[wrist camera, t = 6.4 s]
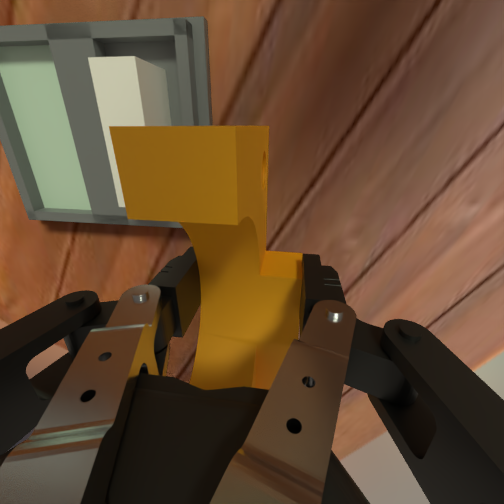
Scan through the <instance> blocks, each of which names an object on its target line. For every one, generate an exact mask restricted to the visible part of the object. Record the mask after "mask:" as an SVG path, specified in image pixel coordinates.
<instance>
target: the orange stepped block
mask: <svg viewBox="0 0 504 504" xmlns="http://www.w3.org/2000/svg"><path fill="white" fill-rule="evenodd" d="M109 130H110V135H111V140H112V145H113V149H114V154H115V159H116V164H117V169H118V174H119V179H120V183H121V188H122V193H123V198H124V203H125V208H126V212H127V217H128V219H134V220H152V221H171V222H179V223H180V224H181V226H182V227H183V228H184V230H185V231H186V233H187V234H188V236H189V238H190V240H191V243H192V245H193V248H194V251H195V254H196V258H197V263H198V268H199V275H200V286H201V315H200V328H199V336H198V344H197V350H196V356H195V361H194V366H193V370H192V375H191V379H190V383H189V384H191V385H193V386H196V387H198V388H201V389H203V390H214V389H223V388H233V387H243V386H244V387H252V388H260V389H267V390H270V387H271V385H272V383H273V381H274V379H275V377H276V375H277V373H278V370H279V368H280V366H281V364H282V362H283V360H284V358H285V356H286V353H287V351H288V349H289V347H290V345H291V343H292V341H293V340H294V339H297V340H298V334H299V311H300V299H301V287H302V253H293V252H278V251H266V228H267V190H268V151H269V126H109Z"/></svg>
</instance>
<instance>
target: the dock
mask: <svg viewBox="0 0 504 504" xmlns="http://www.w3.org/2000/svg"><path fill="white" fill-rule="evenodd" d="M109 126H213V125H212V106H211V86H210V66H209V47H208V27H207V20H206V19H205V18H204V17H184V18H162V19H141V20H119V21H97V22H75V23H53V24H32V25H10V26H0V140H1V143H2V146H3V148H4V151H5V154H6V157H7V159H8V162H9V165H10V168H11V171H12V173H13V176H14V179H15V182H16V184H17V187H18V190H19V193H20V195H21V198H22V201H23V204H24V207H25V209H26V212H27V215H28V218H29V220H47V221H65V222H84V223H102V224H120V225H138V226H156V227H174V228H183V227H182V226H181V224H180V223H179V222H171V221H152V220H134V219H128V217H127V212H126V208H125V203H124V198H123V193H122V188H121V183H120V179H119V174H118V169H117V164H116V159H115V154H114V149H113V145H112V140H111V135H110V130H109Z"/></svg>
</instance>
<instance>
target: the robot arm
mask: <svg viewBox="0 0 504 504" xmlns="http://www.w3.org/2000/svg"><path fill="white" fill-rule="evenodd" d="M200 304H201V286H200V275H199V268H198V263H197V258H196V254H195V251H194V248H193V247H190V248H189V249H188V250H187V251H186V252H185V253H184V255H183V256H178V257H176V258H174V259H172V260H170V261H169V262H168V264H167V265H166V266H165V267H164V268H163V269H162V270H161V272H159V273H158V274H157V275H156V276H155V278H154V279H153V280H152V281H151V282H150V283H149V284H148V285H140V286H136V287H133V288H130V289H128V290H127V291H125V292H124V293H123V294H122V295H121V297H120V299H119V300H118V301H109V302H99V298H98V295H97V293H95V292H93V291H78V292H74V293H70V294H68V295H65V296H63V297H61V298H59V299H57V300H56V301H54V302H52V303H50V304H48V305H46V306H44V307H42V308H40V309H38V310H37V311H35V312H33V313H31V314H29V315H27V316H25V317H23V318H21V319H19V320H17V321H16V322H14V323H12V324H10V325H8V326H6V327H4V328H2V329H0V504H370V503H369V502H368V500H367V499H366V497H365V496H364V494H363V493H362V492H361V490H360V489H359V487H358V486H357V485H356V483H355V482H354V481H353V479H352V478H351V476H350V475H349V474H348V473H347V471H346V470H345V468H344V467H343V465H342V464H341V462H340V461H339V460H338V458H337V457H336V456H335V454H334V453H333V451H332V450H331V448H332V443H333V438H334V433H335V427H336V422H337V417H338V412H339V407H340V402H341V396H342V391H343V386H344V384H346V385H348V386H350V387H353V388H355V389H358V390H360V391H363V392H365V393H367V394H368V397H369V399H370V401H371V403H372V405H373V406H374V408H375V410H376V411H377V413H378V415H379V417H380V418H381V420H382V422H383V423H384V425H385V427H386V429H387V430H388V432H389V434H390V435H391V437H392V439H393V441H394V442H395V444H396V446H397V447H398V449H399V451H400V452H401V454H402V456H403V458H404V459H405V461H406V463H407V464H408V466H409V468H410V469H411V471H412V473H413V475H414V476H415V478H416V480H417V482H418V483H419V485H420V487H421V488H422V490H423V492H424V494H425V495H426V497H427V499H428V500H429V502H430V504H504V400H503V399H501V397H500V396H499V395H497V394H496V393H495V392H494V391H493V390H492V389H491V388H490V387H489V386H488V385H487V384H486V383H485V382H484V381H483V380H481V379H480V378H479V377H478V376H477V375H476V374H475V373H474V372H473V371H472V370H471V369H470V368H469V367H468V366H466V365H465V364H464V363H463V362H462V361H461V360H460V359H459V358H458V357H457V356H456V355H455V354H454V353H453V352H451V351H450V350H449V349H448V348H447V347H446V346H445V345H444V344H443V343H442V342H441V341H440V340H439V339H438V338H436V337H435V336H434V335H433V334H432V333H431V332H430V331H429V330H428V329H426V328H425V327H423V326H421V325H419V324H417V323H415V322H412V321H408V320H403V319H394V320H390V321H388V322H386V323H385V325H384V328H380V327H377V326H373V325H370V324H367V323H365V322H362V321H360V320H359V319H357V318H356V313H355V311H354V310H353V309H352V308H351V307H350V306H348V305H347V304H346V301H345V297H344V294H343V290H342V287H341V283H340V281H339V276H338V273H337V272H336V271H335V270H334V269H333V268H332V267H331V266H321V261H320V256H319V255H316V254H303V255H302V287H301V299H300V311H299V319H300V338H299V340H297V339H294V340H293V341H292V343H291V345H290V347H289V349H288V351H287V353H286V356H285V358H284V360H283V362H282V364H281V366H280V368H279V370H278V373H277V375H276V377H275V379H274V381H273V383H272V385H271V387H270V390H267V389H260V388H252V387H244V386H243V387H233V388H223V389H214V390H203V389H201V388H198V387H196V386H193V385H191V384H189V383H186V382H184V381H181V380H179V379H176V378H174V377H168V376H166V373H167V367H168V360H169V354H170V343H169V341H170V339H171V338H172V336H173V337H182V338H183V336H184V334H185V332H186V330H187V328H188V327H189V325H190V323H191V321H192V319H193V317H194V315H195V313H196V311H197V310H198V308H199V306H200ZM62 338H64V341H65V343H66V346H67V348H68V351H69V352H68V353H67V354H65V355H64V356H62V357H61V358H60V359H58V360H57V361H55V362H54V363H52V364H51V365H50V366H48V367H47V368H45V369H44V370H42V371H41V372H40V373H38V374H37V375H35V376H34V377H33V378H31V379H30V380H29V379H28V376H27V374H26V367H27V365H28V363H29V361H30V360H31V359H32V358H33V357H35V356H36V355H38V354H39V353H41V352H42V351H44V350H46V349H47V348H49V347H50V346H52V345H53V344H55V343H56V342H58V341H59V340H61V339H62ZM34 427H36V428H35V430H34V432H33V433H32V434H31V436H30V437H29V438H28V439H27V440H25V441H23V442H22V443H20V444H18V445H17V446H15V447H14V448H12V449H10V448H11V447H12V446H13V445H15V444H16V443H17V442H18V441H19V440H21V439H22V438H23V437H24V436H25V435H26V434H28V433H29V432H30V431H31V430H32V429H33V428H34ZM9 449H10V450H9ZM8 450H9V451H8ZM6 451H7V452H6Z"/></svg>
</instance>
